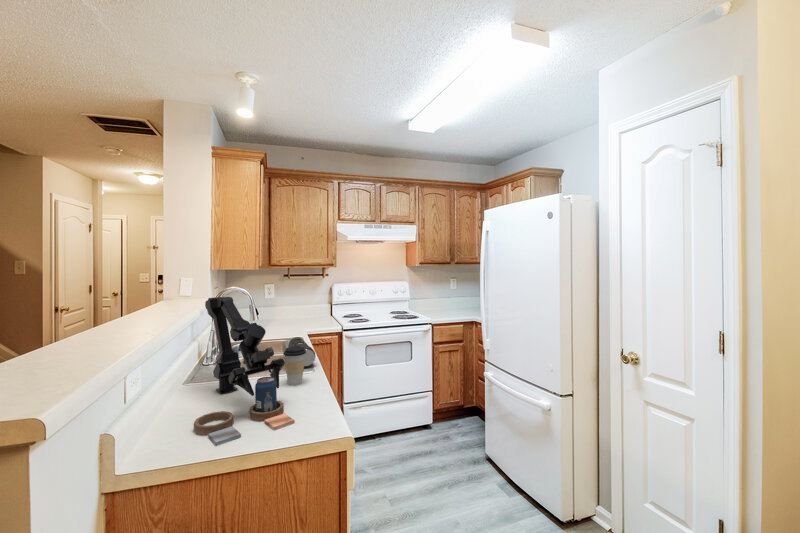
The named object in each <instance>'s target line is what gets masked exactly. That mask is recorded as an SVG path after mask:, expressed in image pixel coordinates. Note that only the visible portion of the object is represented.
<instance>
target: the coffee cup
mask: <svg viewBox="0 0 800 533" xmlns="http://www.w3.org/2000/svg"><path fill="white" fill-rule="evenodd" d="M305 353H306V350H305V349H304V347H300V346H294V347H289V348H288V347H286V348H285V349H284V351H283V356H284V362H285V364H284V367H285V374H286V378H287V379H286V380H287V384H289V385H288V386H298V385H302V383H303V376H304V370H305V366H304V355H305Z"/></svg>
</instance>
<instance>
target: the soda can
mask: <svg viewBox="0 0 800 533" xmlns="http://www.w3.org/2000/svg"><path fill="white" fill-rule="evenodd" d="M254 386H255V388H254V397H255V399H254V400H255V402H254V404H255V412H260V413H263V412H270V411H273V410H276V409H277V401H278V399H277V396H278V394H277V387H276V381H275V378H274V377H271V376H263V377H260V378H258V379H256V382H255V384H254Z"/></svg>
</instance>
